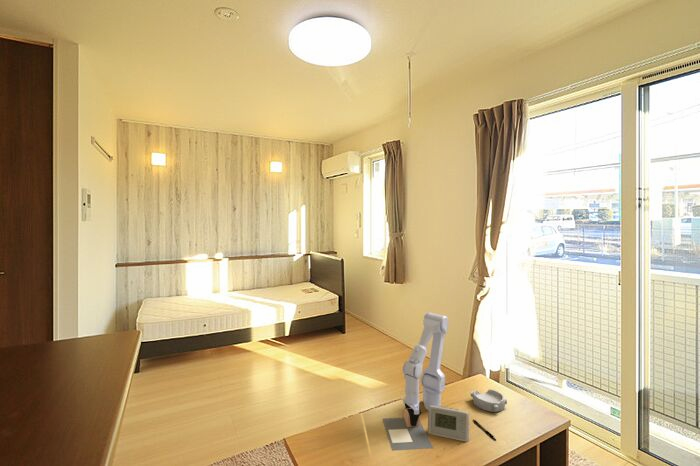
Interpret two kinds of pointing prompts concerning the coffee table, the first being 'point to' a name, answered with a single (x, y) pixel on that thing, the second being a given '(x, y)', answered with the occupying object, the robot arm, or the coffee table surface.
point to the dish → (489, 400)
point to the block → (407, 418)
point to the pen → (484, 429)
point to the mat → (405, 435)
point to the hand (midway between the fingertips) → (411, 421)
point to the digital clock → (448, 423)
